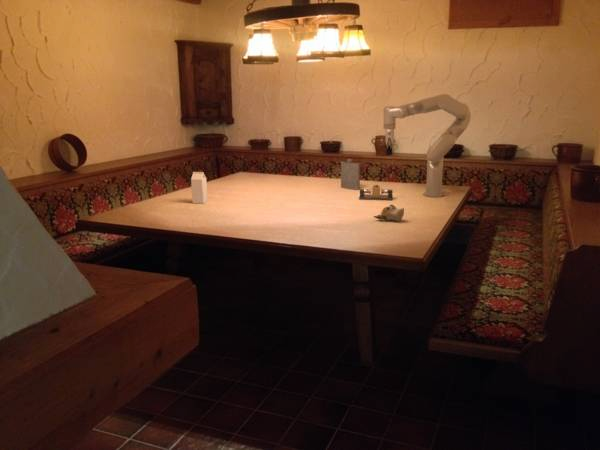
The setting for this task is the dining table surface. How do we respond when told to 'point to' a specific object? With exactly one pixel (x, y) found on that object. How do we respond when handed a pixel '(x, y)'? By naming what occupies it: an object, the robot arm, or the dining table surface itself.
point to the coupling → (376, 191)
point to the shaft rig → (369, 197)
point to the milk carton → (199, 187)
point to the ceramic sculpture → (391, 213)
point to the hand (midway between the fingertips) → (389, 153)
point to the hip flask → (350, 175)
